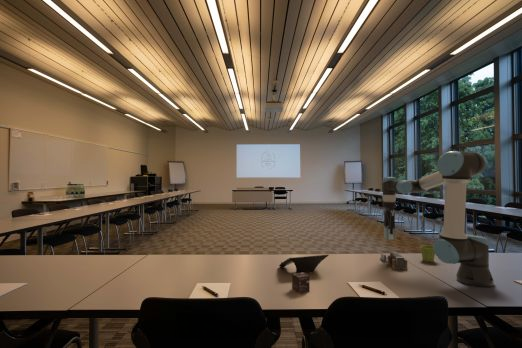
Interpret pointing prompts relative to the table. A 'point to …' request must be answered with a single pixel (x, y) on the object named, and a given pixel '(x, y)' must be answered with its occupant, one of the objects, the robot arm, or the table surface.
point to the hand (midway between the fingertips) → (389, 238)
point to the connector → (387, 233)
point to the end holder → (384, 257)
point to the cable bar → (397, 260)
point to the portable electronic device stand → (304, 263)
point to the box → (300, 282)
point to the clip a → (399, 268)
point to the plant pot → (427, 253)
